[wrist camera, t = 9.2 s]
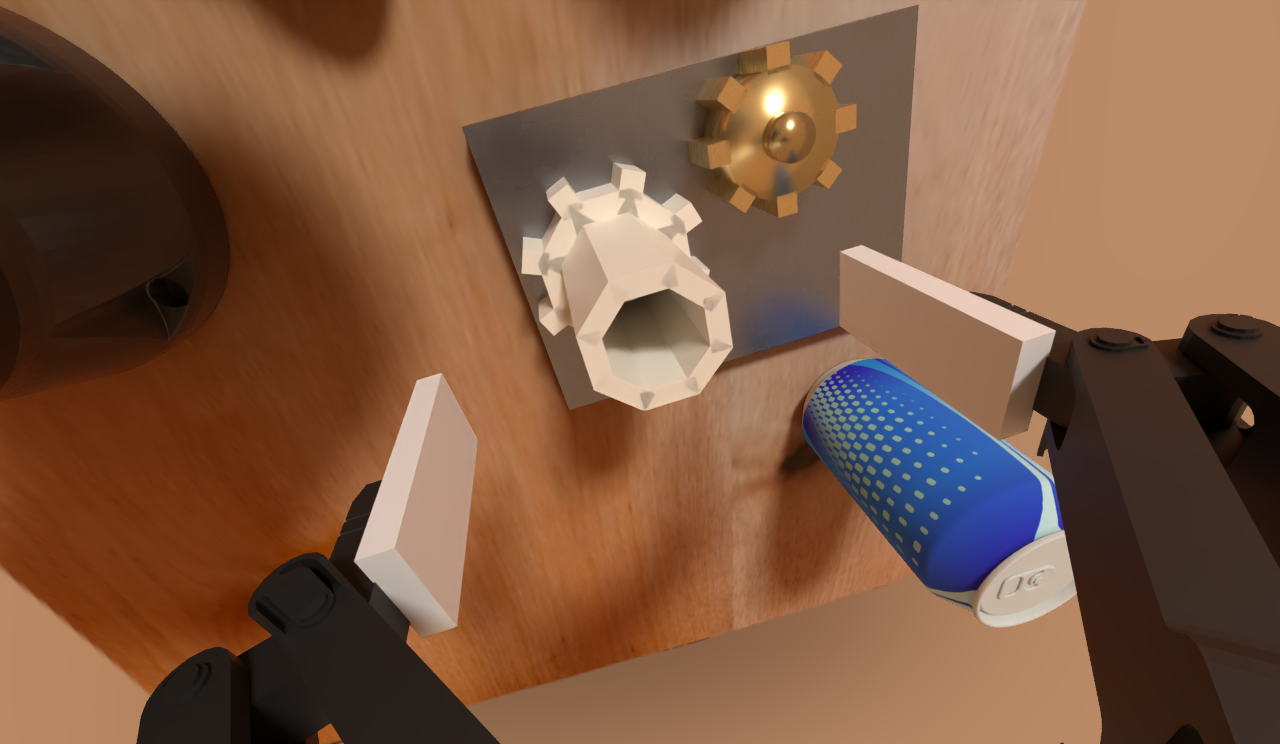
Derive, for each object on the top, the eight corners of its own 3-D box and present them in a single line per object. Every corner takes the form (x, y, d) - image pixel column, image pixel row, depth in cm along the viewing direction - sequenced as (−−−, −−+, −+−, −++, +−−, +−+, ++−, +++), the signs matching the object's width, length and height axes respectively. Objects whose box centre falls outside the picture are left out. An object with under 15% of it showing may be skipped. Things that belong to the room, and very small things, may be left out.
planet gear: (556, 353, 27) (571, 474, 18) (498, 194, 23) (480, 255, 14) (704, 308, 28) (787, 406, 19) (676, 144, 23) (769, 172, 14)
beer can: (843, 331, 33) (1069, 496, 19) (918, 374, 36) (1156, 540, 22) (771, 425, 36) (923, 627, 22) (847, 457, 39) (1020, 649, 25)
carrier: (567, 397, 31) (575, 456, 26) (465, 125, 22) (447, 133, 17) (883, 300, 32) (950, 338, 27) (897, 9, 24) (999, -16, 19)
